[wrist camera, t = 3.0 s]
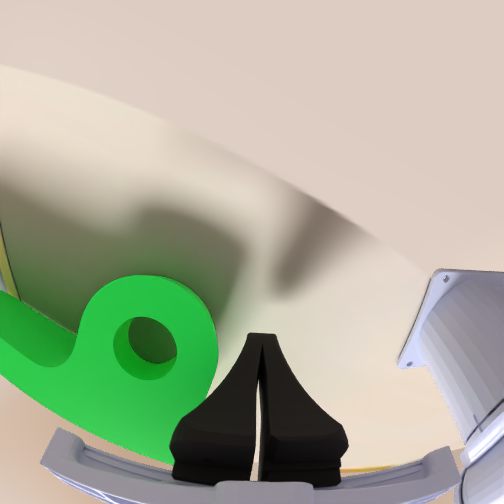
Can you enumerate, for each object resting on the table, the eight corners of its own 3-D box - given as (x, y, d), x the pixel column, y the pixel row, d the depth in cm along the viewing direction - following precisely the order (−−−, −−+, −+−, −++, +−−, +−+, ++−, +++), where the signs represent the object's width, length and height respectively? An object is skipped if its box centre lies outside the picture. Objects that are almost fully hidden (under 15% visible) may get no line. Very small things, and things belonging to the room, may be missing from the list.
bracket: (227, 296, 20) (240, 308, 12) (185, 411, 18) (180, 467, 11) (18, 205, 17) (-32, 182, 10) (-9, 308, 16) (-61, 313, 8)
